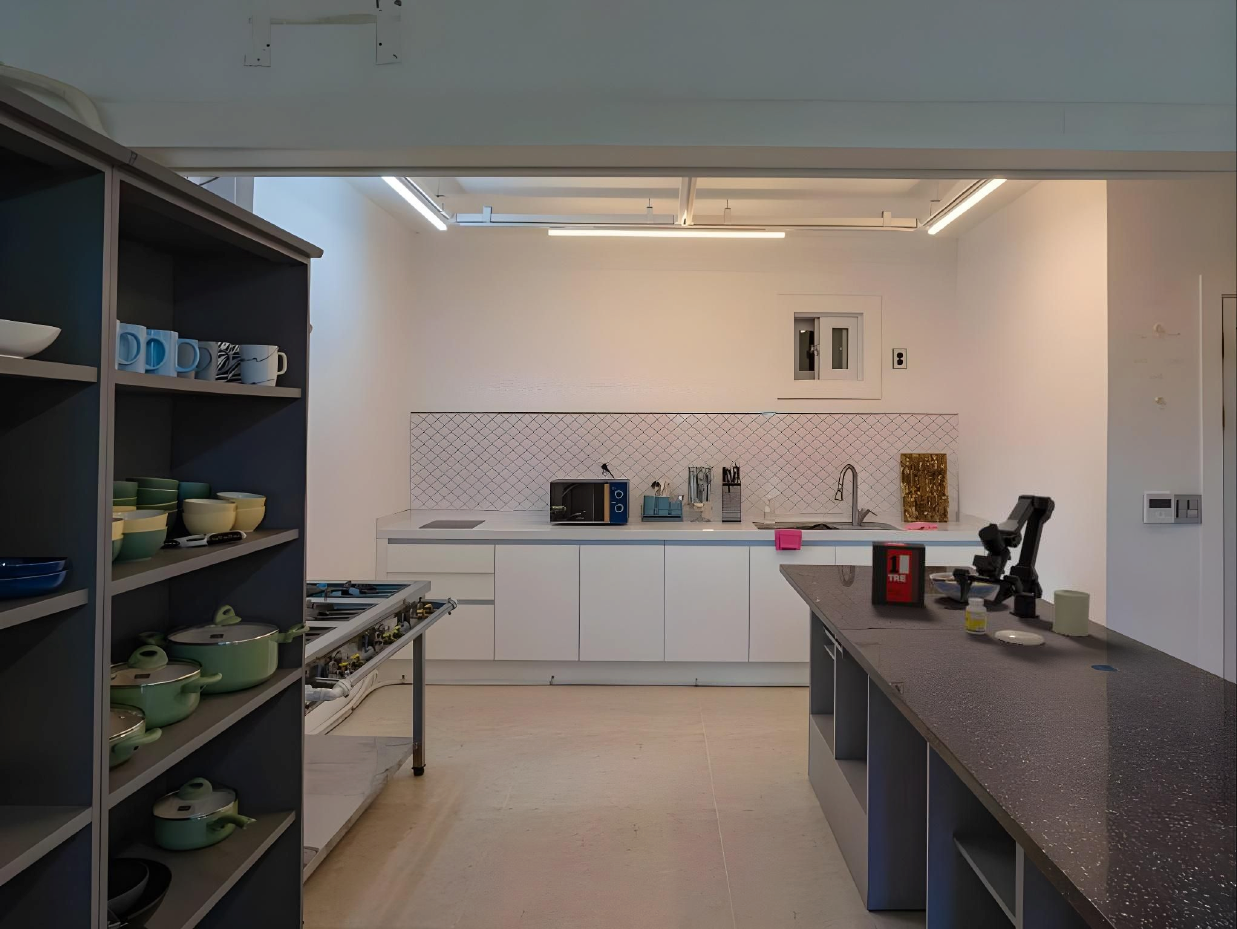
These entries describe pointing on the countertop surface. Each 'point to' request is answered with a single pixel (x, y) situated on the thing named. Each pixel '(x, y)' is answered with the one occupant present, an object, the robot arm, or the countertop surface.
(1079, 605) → the can
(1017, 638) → the coaster
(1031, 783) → the countertop surface
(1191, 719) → the countertop surface
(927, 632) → the countertop surface
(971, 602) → the supplement bottle
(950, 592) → the ramen bowl
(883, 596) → the cleaning product box
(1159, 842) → the countertop surface
